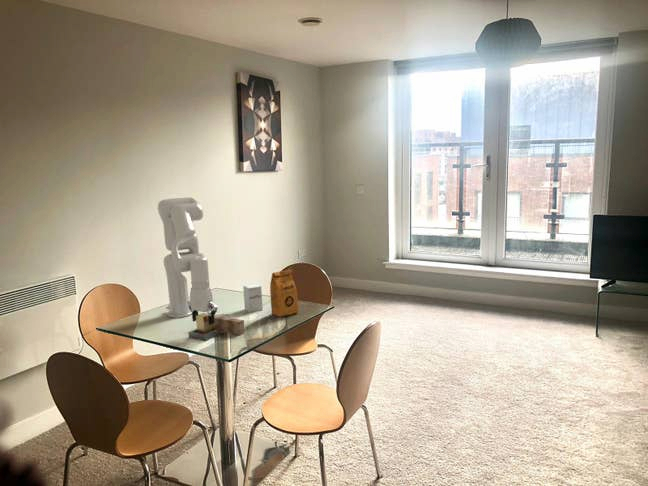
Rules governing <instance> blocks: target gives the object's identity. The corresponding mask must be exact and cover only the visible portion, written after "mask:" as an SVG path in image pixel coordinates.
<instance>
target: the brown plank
mask: <svg viewBox="0 0 648 486" xmlns="http://www.w3.org/2000/svg"><path fill="white" fill-rule="evenodd" d="M214 319H215V323H213V324H211V325H212V327H215V328H220V329H221V331H223V333H226V334H227V333H228V334H233V335H238V336H242V335H244V334H246V330H245V329H246V328H245V320H244V319H241V318H240V319H239V318H234V317H233V318H232V317H227V316H222V315H216V314H215V315H214Z"/></svg>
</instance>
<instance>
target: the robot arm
mask: <svg viewBox="0 0 648 486" xmlns="http://www.w3.org/2000/svg"><path fill="white" fill-rule="evenodd" d="M157 211H158V214H159V217H160V219H161V222H162V224H163V235H164V245H165V247H166V250H168V251H170V252H171V253H169V254H167V255H165V257H164V258H163V266H164V270H165V274H166V281H167V290H168V292H167V293H168V300H169V304H168V305H167V306H165V309H166V310H168V312H167V317H168V318H173V319H174V318H175V319H177V318H185V317H189V316H191V317H192V319H191V320H192V322H196V315H199V312H200V313H201V312H202V313H205V312H206V313H207V314H209V316H208V322H209V325H211V324H213V323H215V319H214V315H216V313H217V312H218V305H217V304H216V303H214V299H213V293H212V289H211V287H210V274H209V263H208V258H207V257H206V255H205V254H204V253H201V252H200V248H199V239H198V234H197V233H196V229H195V225H194V222H195V221H201V220H202V219H203V218H204V211H203V207H202V205H201V204H200V203H199V201H197V200H196V199H195V198H193V197H187V196H186V197H176V198H175V197H173V198H166V199H162V200H160V201H158V204H157ZM183 250H184V251H183ZM185 250H188V251H185ZM179 251H181V252H179ZM182 251H183V252H182ZM186 272H190V278H191V279H190V280H191V282H190V284H191V287H190V293H189V288H188V287H189V286H188V279H187V277H186V276H185V275H184V274H182V273H186Z"/></svg>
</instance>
